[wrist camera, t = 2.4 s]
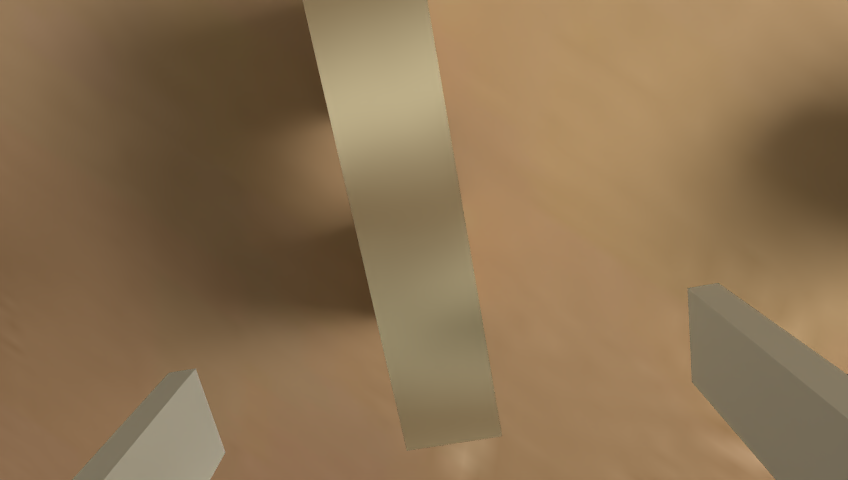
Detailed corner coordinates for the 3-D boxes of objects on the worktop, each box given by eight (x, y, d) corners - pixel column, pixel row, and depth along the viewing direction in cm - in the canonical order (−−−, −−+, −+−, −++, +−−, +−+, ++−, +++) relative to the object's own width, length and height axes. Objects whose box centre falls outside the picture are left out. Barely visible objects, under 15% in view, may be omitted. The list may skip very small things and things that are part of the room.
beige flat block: (475, 307, 26) (502, 436, 16) (415, 317, 26) (406, 450, 16) (417, -22, 22) (408, -110, 12) (347, -8, 22) (283, -83, 12)
